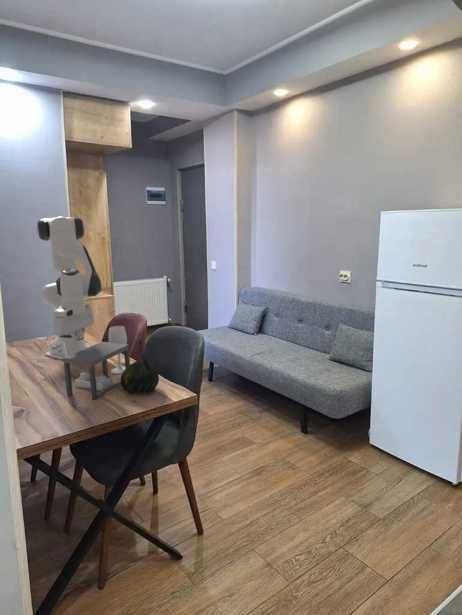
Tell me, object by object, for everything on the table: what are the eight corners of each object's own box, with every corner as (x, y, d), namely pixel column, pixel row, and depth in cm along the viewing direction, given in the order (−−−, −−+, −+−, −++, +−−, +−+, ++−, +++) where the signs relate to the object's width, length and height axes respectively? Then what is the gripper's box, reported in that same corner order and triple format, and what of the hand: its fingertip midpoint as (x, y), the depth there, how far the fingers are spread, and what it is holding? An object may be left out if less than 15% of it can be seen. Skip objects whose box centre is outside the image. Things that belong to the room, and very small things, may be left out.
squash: (113, 376, 175) (122, 356, 165) (146, 369, 184) (156, 350, 174) (124, 406, 168) (134, 387, 158) (157, 397, 177) (169, 379, 168)
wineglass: (124, 374, 192) (121, 330, 187) (107, 373, 193) (103, 329, 189) (132, 368, 200) (129, 325, 196) (115, 367, 202) (112, 325, 197)
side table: (67, 395, 170) (63, 358, 166) (105, 375, 191) (102, 341, 188) (95, 400, 164) (91, 361, 161) (131, 379, 186) (128, 344, 183)
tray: (75, 386, 179) (74, 375, 178) (85, 381, 185) (84, 371, 184) (102, 390, 174) (101, 380, 173) (111, 385, 179) (111, 375, 178)
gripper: (84, 302, 185) (87, 332, 189) (49, 313, 167) (52, 346, 170) (96, 304, 183) (98, 334, 186) (61, 314, 165) (65, 347, 168)
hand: (76, 340), depth 178 cm, fingers closed
